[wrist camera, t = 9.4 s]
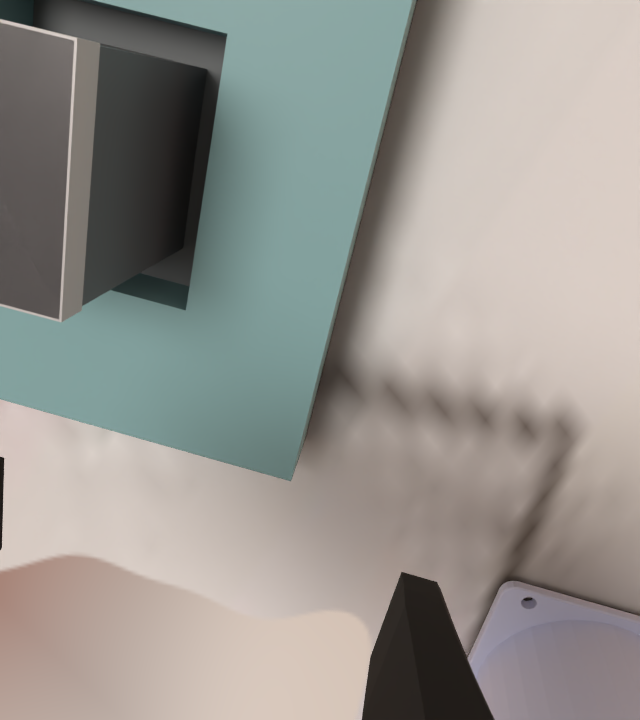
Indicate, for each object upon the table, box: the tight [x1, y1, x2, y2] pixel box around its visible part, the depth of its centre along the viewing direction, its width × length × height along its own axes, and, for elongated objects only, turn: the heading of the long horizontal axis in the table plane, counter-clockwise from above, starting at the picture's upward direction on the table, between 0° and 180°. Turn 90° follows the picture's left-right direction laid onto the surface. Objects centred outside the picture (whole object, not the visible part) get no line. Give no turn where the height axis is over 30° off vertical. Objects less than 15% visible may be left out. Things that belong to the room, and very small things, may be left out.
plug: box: [0, 19, 207, 322], centre depth 14 cm, size 4×5×7 cm
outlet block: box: [0, 0, 417, 481], centre depth 17 cm, size 14×16×2 cm
